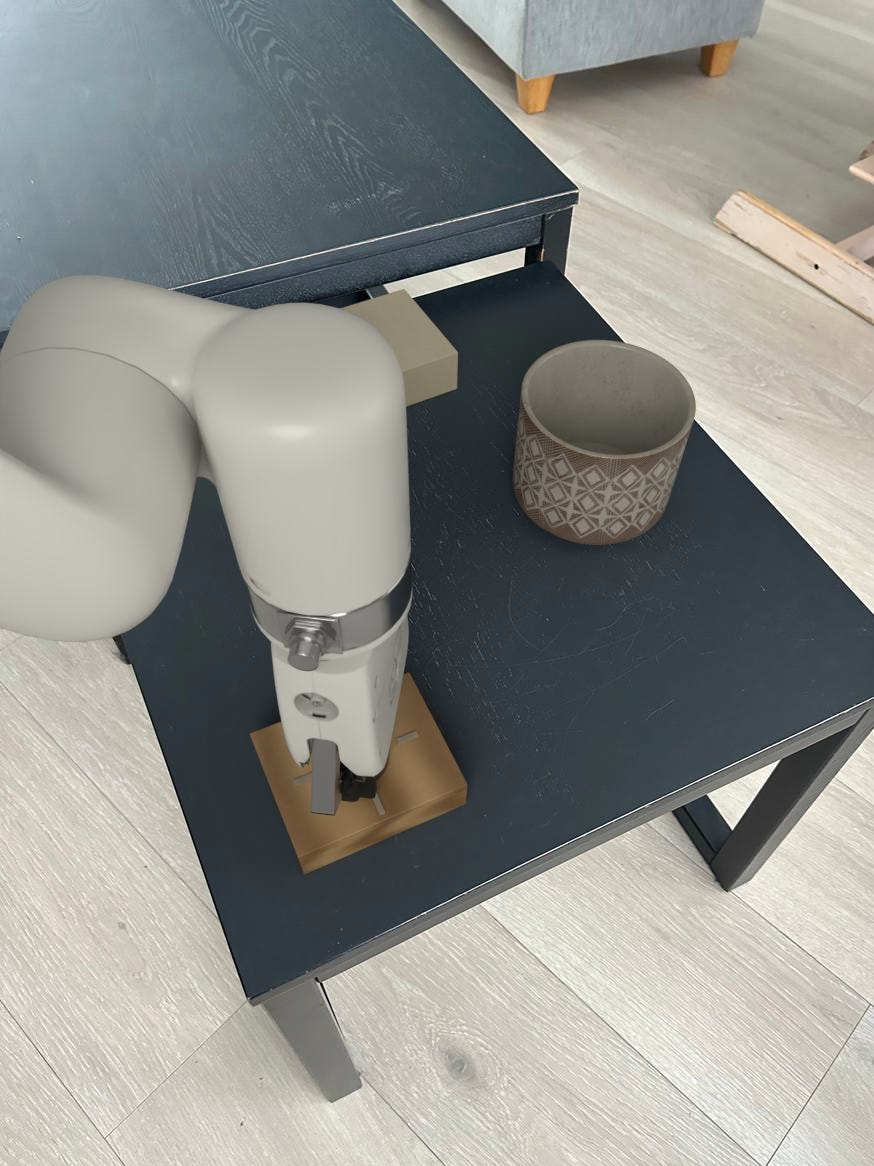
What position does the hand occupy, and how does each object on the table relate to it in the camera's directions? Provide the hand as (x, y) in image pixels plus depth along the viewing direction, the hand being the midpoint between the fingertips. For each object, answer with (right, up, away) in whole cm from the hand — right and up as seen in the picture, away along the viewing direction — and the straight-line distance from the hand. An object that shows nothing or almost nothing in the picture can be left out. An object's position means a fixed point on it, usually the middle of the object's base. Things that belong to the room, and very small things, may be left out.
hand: (357, 754), depth 56 cm
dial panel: (0, -2, +3) cm, 4 cm away
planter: (+16, +19, +18) cm, 31 cm away
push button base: (-3, +30, +25) cm, 39 cm away
